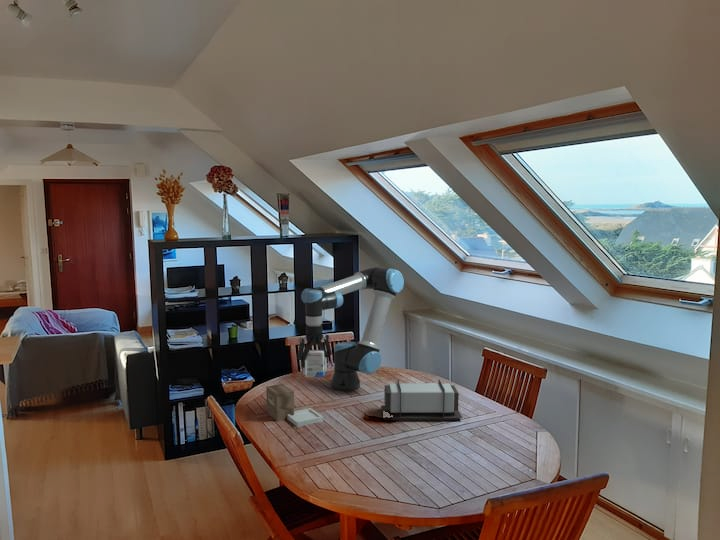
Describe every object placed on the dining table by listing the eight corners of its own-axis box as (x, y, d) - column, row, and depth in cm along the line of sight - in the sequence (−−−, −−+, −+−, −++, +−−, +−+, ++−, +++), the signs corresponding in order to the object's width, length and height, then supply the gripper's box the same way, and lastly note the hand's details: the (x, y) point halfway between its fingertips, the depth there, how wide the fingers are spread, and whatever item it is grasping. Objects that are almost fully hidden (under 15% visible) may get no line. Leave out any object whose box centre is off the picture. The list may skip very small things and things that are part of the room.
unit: (283, 409, 258) (282, 383, 256) (294, 417, 248) (293, 391, 246) (265, 412, 253) (265, 386, 252) (276, 421, 243) (275, 394, 242)
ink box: (325, 374, 260) (324, 349, 259) (323, 377, 255) (323, 352, 254) (306, 373, 261) (306, 349, 259) (304, 377, 256) (304, 352, 255)
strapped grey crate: (381, 378, 257) (456, 378, 258) (380, 409, 259) (455, 409, 260) (383, 389, 242) (463, 389, 243) (382, 422, 244) (462, 422, 244)
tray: (310, 412, 254) (310, 407, 254) (323, 421, 244) (323, 416, 244) (285, 417, 248) (285, 413, 248) (297, 427, 237) (297, 422, 237)
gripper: (331, 320, 264) (332, 366, 267) (288, 325, 253) (289, 374, 255) (339, 323, 257) (339, 370, 260) (295, 329, 246) (296, 378, 249)
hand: (314, 372), depth 258 cm, fingers closed on ink box, 9 cm apart
